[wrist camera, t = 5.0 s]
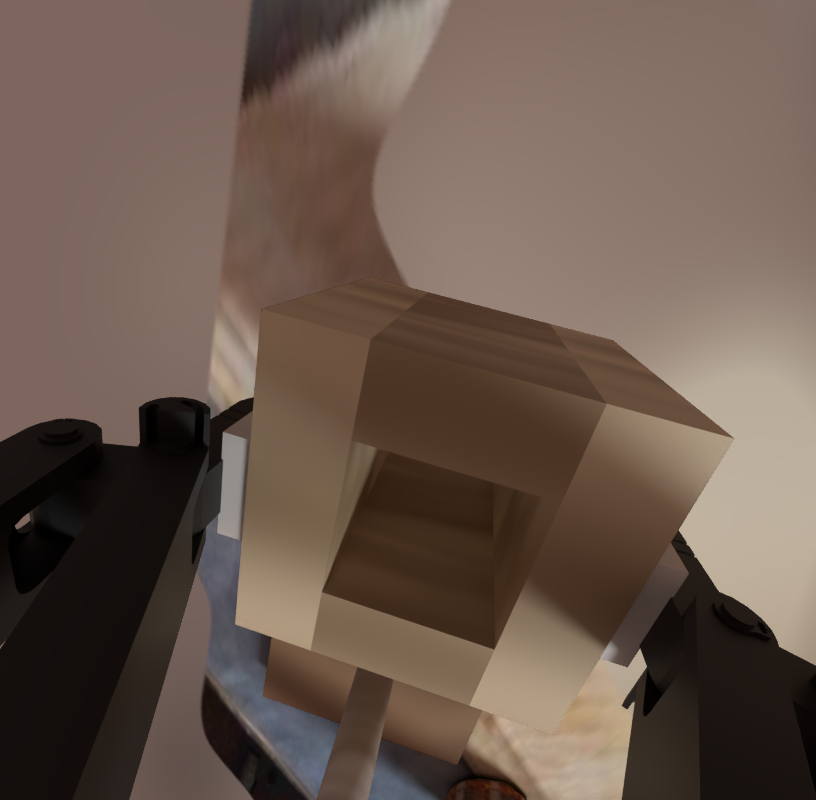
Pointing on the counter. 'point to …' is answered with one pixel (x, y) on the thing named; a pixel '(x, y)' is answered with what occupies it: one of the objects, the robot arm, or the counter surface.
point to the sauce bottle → (483, 790)
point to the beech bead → (458, 493)
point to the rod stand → (365, 715)
